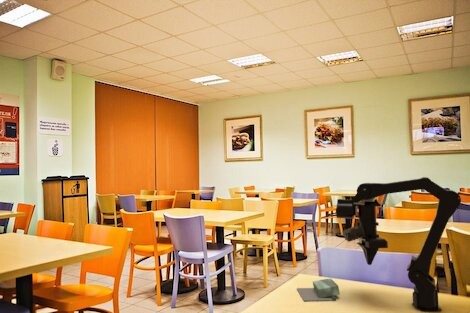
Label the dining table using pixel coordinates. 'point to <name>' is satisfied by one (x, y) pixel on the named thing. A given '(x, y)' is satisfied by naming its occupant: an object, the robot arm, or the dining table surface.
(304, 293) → the slate board
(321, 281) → the grey-green rectangular block
